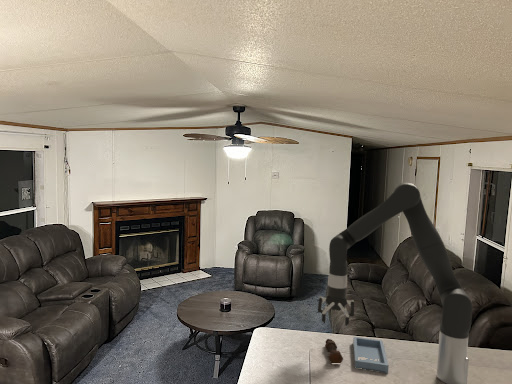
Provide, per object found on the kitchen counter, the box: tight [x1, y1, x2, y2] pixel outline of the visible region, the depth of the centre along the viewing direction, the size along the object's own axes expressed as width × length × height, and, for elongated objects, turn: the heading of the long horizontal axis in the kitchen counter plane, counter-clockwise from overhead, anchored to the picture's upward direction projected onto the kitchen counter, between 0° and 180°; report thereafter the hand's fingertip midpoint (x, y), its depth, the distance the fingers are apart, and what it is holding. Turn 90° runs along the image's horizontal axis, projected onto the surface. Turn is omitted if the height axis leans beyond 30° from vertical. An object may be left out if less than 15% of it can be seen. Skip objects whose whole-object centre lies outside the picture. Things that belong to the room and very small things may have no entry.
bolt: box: [324, 338, 344, 364], centre depth 151 cm, size 6×5×15 cm
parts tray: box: [352, 336, 390, 374], centre depth 150 cm, size 12×21×3 cm, turn 167°
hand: (335, 323), depth 151 cm, fingers open, 8 cm apart
